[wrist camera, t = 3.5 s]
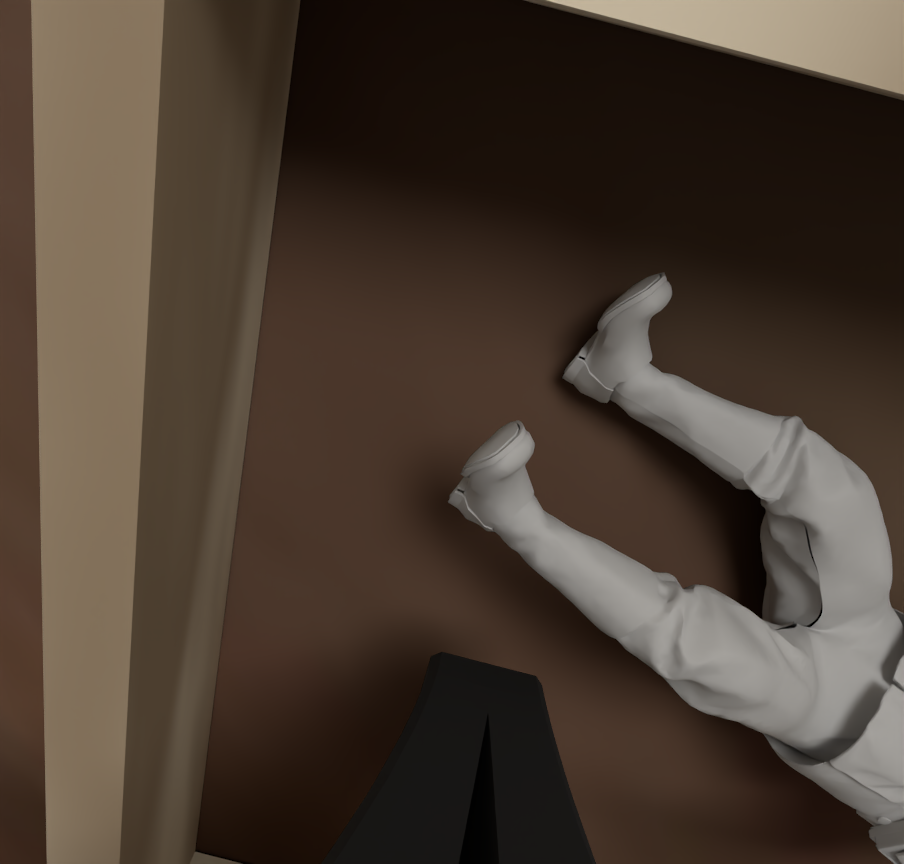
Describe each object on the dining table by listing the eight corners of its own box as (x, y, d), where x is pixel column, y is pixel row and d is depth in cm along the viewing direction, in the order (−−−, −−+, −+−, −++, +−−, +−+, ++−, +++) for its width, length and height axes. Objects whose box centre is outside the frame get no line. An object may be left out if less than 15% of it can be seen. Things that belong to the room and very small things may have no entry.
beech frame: (144, 869, 17) (50, 1064, 13) (225, -194, 8) (25, -326, 5) (845, 1049, 17) (911, 1283, 14) (1641, 180, 8) (2291, 277, 5)
